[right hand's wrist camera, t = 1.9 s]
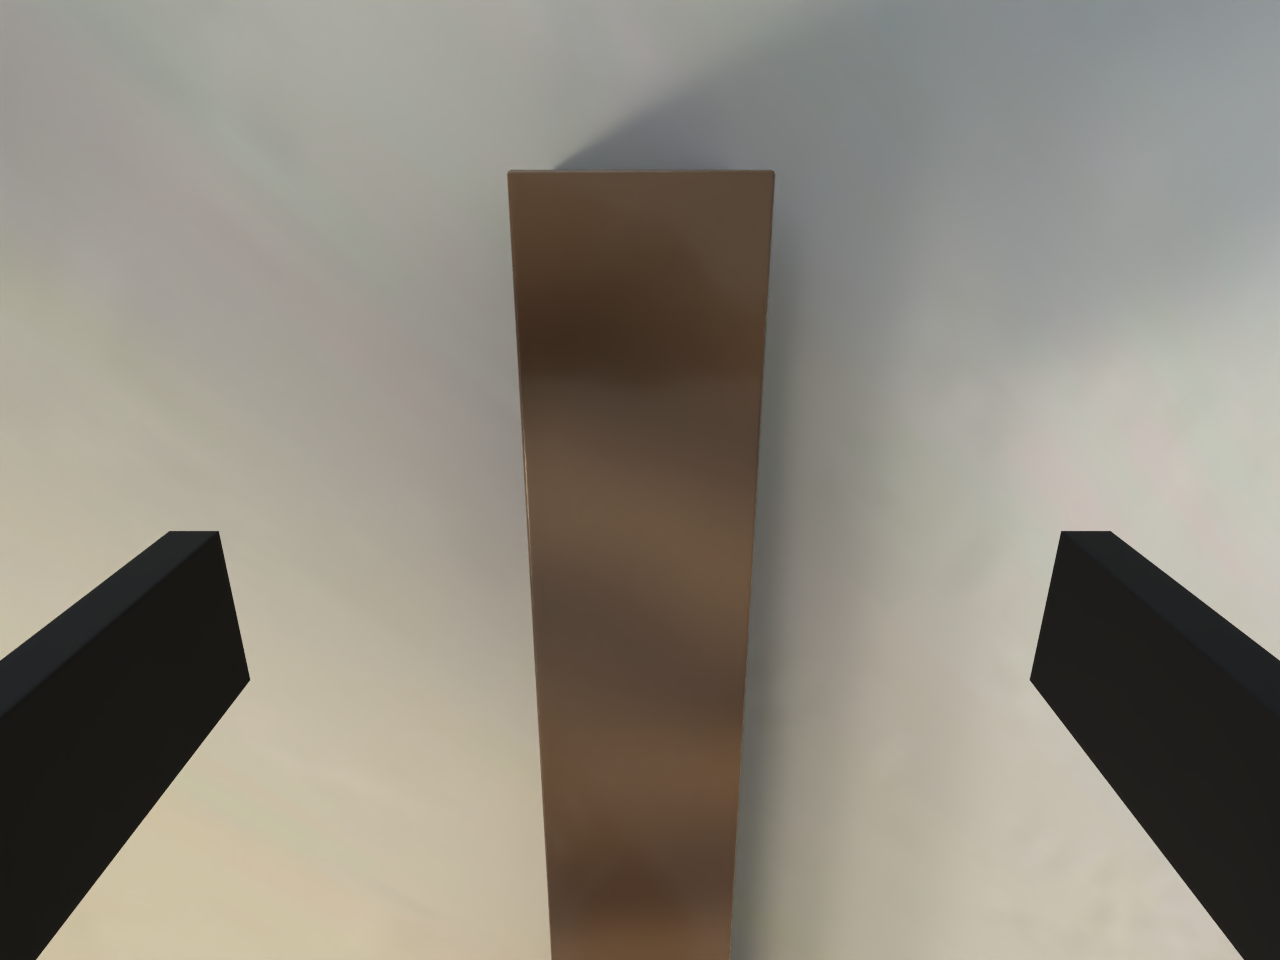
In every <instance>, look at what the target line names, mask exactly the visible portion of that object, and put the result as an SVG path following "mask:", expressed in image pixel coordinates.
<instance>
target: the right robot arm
mask: <svg viewBox="0 0 1280 960" xmlns="http://www.w3.org/2000/svg"><path fill="white" fill-rule="evenodd" d="M249 681H250V677H249V672H248V667H247V663H246V658H245V653H244V648H243V644H242V639H241V634H240V630H239V625H238V620H237V615H236V611H235V606H234V601H233V596H232V592H231V587H230V582H229V578H228V573H227V568H226V563H225V559H224V554H223V549H222V545H221V540H220V535H219V531H169V532H168V533H166V534H165V535H164V536H163V537H161V538H160V539H159V540H157V541H156V542H155V543H153V544H152V545H151V546H150V547H148V548H147V549H146V550H144V551H143V552H142V553H140V554H139V555H138V556H136V557H135V558H134V559H133V560H131V561H130V562H129V563H127V564H126V565H125V566H123V567H122V568H121V569H119V570H118V571H117V572H116V573H114V574H113V575H112V576H110V577H109V578H108V579H106V580H105V581H104V582H102V583H101V584H100V585H99V586H97V587H96V588H95V589H93V590H92V591H91V592H89V593H88V594H87V595H86V596H84V597H83V598H82V599H80V600H79V601H78V602H76V603H75V604H74V605H72V606H71V607H70V608H69V609H67V610H66V611H65V612H63V613H62V614H61V615H59V616H58V617H57V618H55V619H54V620H53V621H52V622H50V623H49V624H48V625H46V626H45V627H44V628H42V629H41V630H40V631H38V632H37V633H36V634H35V635H33V636H32V637H31V638H29V639H28V640H27V641H25V642H24V643H23V644H21V645H20V646H19V647H18V648H16V649H15V650H14V651H12V652H11V653H10V654H8V655H7V656H6V657H5V658H3V659H2V660H1V661H0V960H36V959H37V958H38V956H39V955H40V954H41V952H42V951H43V950H44V949H45V947H46V946H47V945H48V943H49V942H50V941H51V939H52V938H53V937H54V935H55V934H56V933H57V932H58V930H59V929H60V928H61V926H62V925H63V924H64V922H65V921H66V920H67V919H68V917H69V916H70V915H71V913H72V912H73V911H74V909H75V908H76V907H77V905H78V904H79V903H80V902H81V900H82V899H83V898H84V896H85V895H86V894H87V892H88V891H89V890H90V888H91V887H92V886H93V885H94V883H95V882H96V881H97V879H98V878H99V877H100V875H101V874H102V873H103V872H104V870H105V869H106V868H107V866H108V865H109V864H110V862H111V861H112V860H113V858H114V857H115V856H116V855H117V853H118V852H119V851H120V849H121V848H122V847H123V845H124V844H125V843H126V841H127V840H128V839H129V838H130V836H131V835H132V834H133V832H134V831H135V830H136V828H137V827H138V826H139V825H140V823H141V822H142V821H143V819H144V818H145V817H146V815H147V814H148V813H149V811H150V810H151V809H152V808H153V806H154V805H155V804H156V802H157V801H158V800H159V798H160V797H161V796H162V794H163V793H164V792H165V791H166V789H167V788H168V787H169V785H170V784H171V783H172V781H173V780H174V779H175V777H176V776H177V775H178V774H179V772H180V771H181V770H182V768H183V767H184V766H185V764H186V763H187V762H188V761H189V759H190V758H191V757H192V755H193V754H194V753H195V751H196V750H197V749H198V747H199V746H200V745H201V744H202V742H203V741H204V740H205V738H206V737H207V736H208V734H209V733H210V732H211V730H212V729H213V728H214V727H215V725H216V724H217V723H218V721H219V720H220V719H221V717H222V716H223V715H224V714H225V712H226V711H227V710H228V708H229V707H230V706H231V704H232V703H233V702H234V700H235V699H236V698H237V697H238V695H239V694H240V693H241V691H242V690H243V689H244V687H245V686H246V685H247V683H248V682H249ZM1030 681H1031V682H1032V683H1033V685H1034V686H1035V687H1036V689H1037V690H1038V691H1039V693H1040V694H1041V695H1042V697H1043V698H1044V699H1045V700H1046V702H1047V703H1048V704H1049V706H1050V707H1051V708H1052V710H1053V711H1054V712H1055V714H1056V715H1057V716H1058V717H1059V719H1060V720H1061V721H1062V723H1063V724H1064V725H1065V727H1066V728H1067V729H1068V730H1069V732H1070V733H1071V734H1072V736H1073V737H1074V738H1075V740H1076V741H1077V742H1078V744H1079V745H1080V746H1081V747H1082V749H1083V750H1084V751H1085V753H1086V754H1087V755H1088V757H1089V758H1090V759H1091V761H1092V762H1093V763H1094V764H1095V766H1096V767H1097V768H1098V770H1099V771H1100V772H1101V774H1102V775H1103V776H1104V777H1105V779H1106V780H1107V781H1108V783H1109V784H1110V785H1111V787H1112V788H1113V789H1114V791H1115V792H1116V793H1117V794H1118V796H1119V797H1120V798H1121V800H1122V801H1123V802H1124V804H1125V805H1126V806H1127V808H1128V809H1129V810H1130V811H1131V813H1132V814H1133V815H1134V817H1135V818H1136V819H1137V821H1138V822H1139V823H1140V825H1141V826H1142V827H1143V828H1144V830H1145V831H1146V832H1147V834H1148V835H1149V836H1150V838H1151V839H1152V840H1153V841H1154V843H1155V844H1156V845H1157V847H1158V848H1159V849H1160V851H1161V852H1162V853H1163V855H1164V856H1165V857H1166V858H1167V860H1168V861H1169V862H1170V864H1171V865H1172V866H1173V868H1174V869H1175V870H1176V872H1177V873H1178V874H1179V875H1180V877H1181V878H1182V879H1183V881H1184V882H1185V883H1186V885H1187V886H1188V887H1189V888H1190V890H1191V891H1192V892H1193V894H1194V895H1195V896H1196V898H1197V899H1198V900H1199V902H1200V903H1201V904H1202V905H1203V907H1204V908H1205V909H1206V911H1207V912H1208V913H1209V915H1210V916H1211V917H1212V919H1213V920H1214V921H1215V922H1216V924H1217V925H1218V926H1219V928H1220V929H1221V930H1222V932H1223V933H1224V934H1225V935H1226V937H1227V938H1228V939H1229V941H1230V942H1231V943H1232V945H1233V946H1234V947H1235V949H1236V950H1237V951H1238V952H1239V954H1240V955H1241V956H1242V958H1243V959H1244V960H1280V661H1279V660H1278V659H1277V658H1275V657H1274V656H1273V655H1272V654H1270V653H1269V652H1268V651H1266V650H1265V649H1264V648H1262V647H1261V646H1260V645H1259V644H1257V643H1256V642H1255V641H1253V640H1252V639H1251V638H1249V637H1248V636H1247V635H1245V634H1244V633H1243V632H1242V631H1240V630H1239V629H1238V628H1236V627H1235V626H1234V625H1232V624H1231V623H1230V622H1228V621H1227V620H1226V619H1225V618H1223V617H1222V616H1221V615H1219V614H1218V613H1217V612H1215V611H1214V610H1213V609H1211V608H1210V607H1209V606H1208V605H1206V604H1205V603H1204V602H1202V601H1201V600H1200V599H1198V598H1197V597H1196V596H1194V595H1193V594H1192V593H1191V592H1189V591H1188V590H1187V589H1185V588H1184V587H1183V586H1181V585H1180V584H1179V583H1178V582H1176V581H1175V580H1174V579H1172V578H1171V577H1170V576H1168V575H1167V574H1166V573H1164V572H1163V571H1162V570H1161V569H1159V568H1158V567H1157V566H1155V565H1154V564H1153V563H1151V562H1150V561H1149V560H1147V559H1146V558H1145V557H1144V556H1142V555H1141V554H1140V553H1138V552H1137V551H1136V550H1134V549H1133V548H1132V547H1130V546H1129V545H1128V544H1127V543H1125V542H1124V541H1123V540H1121V539H1120V538H1119V537H1117V536H1116V535H1115V534H1114V533H1112V532H1111V531H1061V535H1060V540H1059V545H1058V549H1057V554H1056V559H1055V563H1054V568H1053V573H1052V578H1051V582H1050V587H1049V592H1048V596H1047V601H1046V606H1045V611H1044V615H1043V620H1042V625H1041V630H1040V634H1039V639H1038V644H1037V648H1036V653H1035V658H1034V663H1033V667H1032V672H1031V677H1030Z"/></svg>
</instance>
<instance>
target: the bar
mask: <svg viewBox="0 0 1280 960" xmlns="http://www.w3.org/2000/svg"><path fill="white" fill-rule="evenodd" d="M507 179H508V197H509V214H510V232H511V250H512V267H513V285H514V303H515V321H516V338H517V356H518V374H519V391H520V409H521V427H522V444H523V462H524V480H525V497H526V515H527V533H528V551H529V568H530V586H531V604H532V621H533V639H534V657H535V674H536V692H537V710H538V727H539V745H540V763H541V781H542V798H543V816H544V834H545V851H546V869H547V887H548V904H549V922H550V940H551V957H552V960H730V950H731V932H732V915H733V898H734V880H735V863H736V845H737V828H738V811H739V793H740V776H741V759H742V741H743V724H744V707H745V689H746V672H747V655H748V637H749V620H750V603H751V585H752V568H753V551H754V533H755V516H756V499H757V481H758V464H759V446H760V429H761V412H762V394H763V377H764V360H765V342H766V325H767V308H768V290H769V273H770V256H771V238H772V221H773V204H774V186H775V172H774V171H773V170H510V171H508V174H507Z"/></svg>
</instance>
